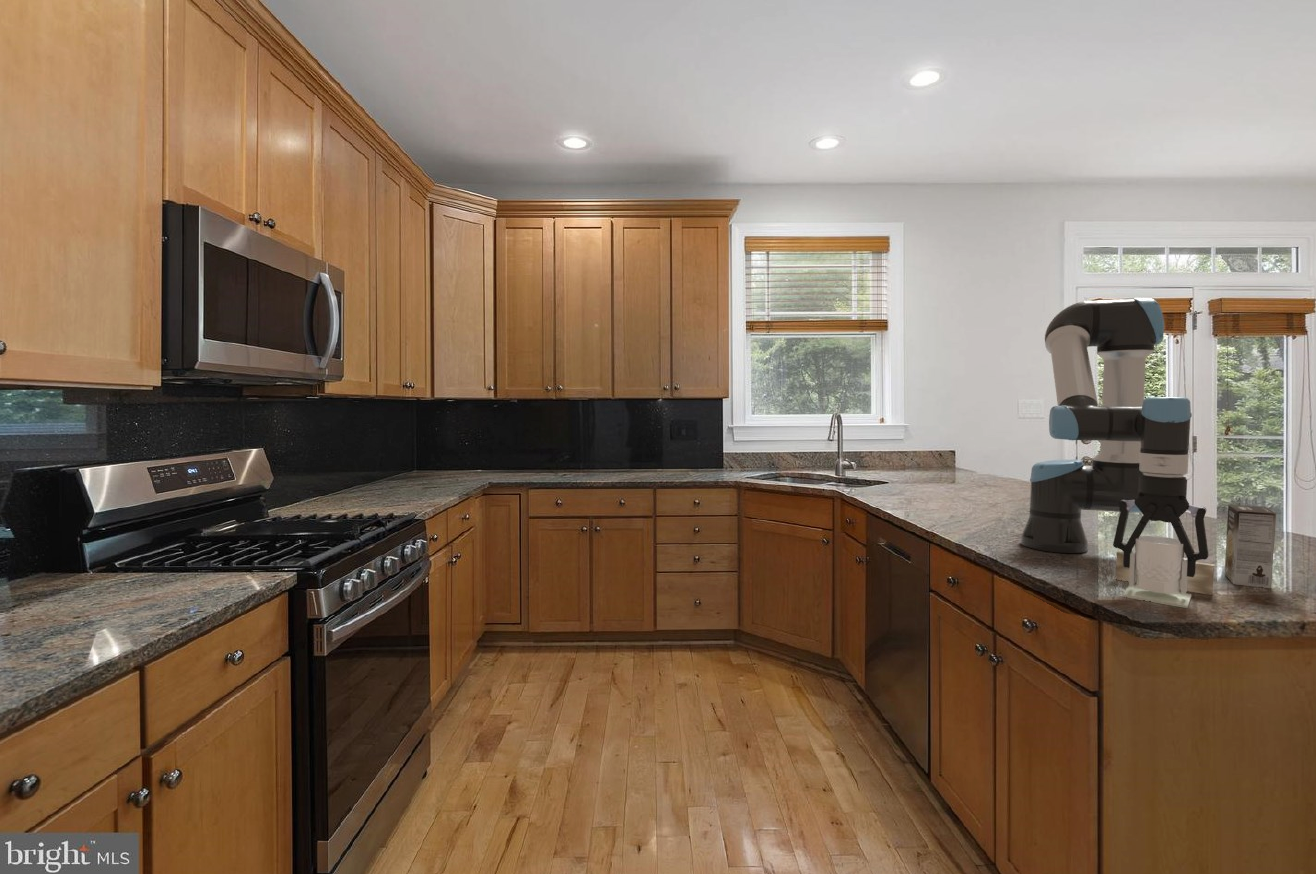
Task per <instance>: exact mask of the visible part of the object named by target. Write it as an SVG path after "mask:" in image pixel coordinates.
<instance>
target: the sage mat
mask: <svg viewBox="0 0 1316 874" xmlns="http://www.w3.org/2000/svg"><path fill="white" fill-rule="evenodd" d="M1192 594H1193V593H1187V592H1186V594H1182V593H1181V591H1179V592H1178V593H1175V594H1164V593H1156V592H1151V591H1147V590H1143V589H1141V588H1139V587H1138V586H1137V585H1136V584H1134V586H1133V585H1129V584H1128V586H1127V587H1126V589H1125V591H1124V592H1123V594H1122V596H1123V597H1122V598H1126V597H1127V598H1126V599H1133V600H1139V601H1143V600H1145V601H1144V602H1149V601H1151V602H1150V603H1155V604H1162V605H1167V606H1171V607H1172V606H1173V607H1176V608H1177V607H1178V608H1184V609H1188V608H1189V605H1190V601H1191V598H1192V596H1193V595H1192Z"/></svg>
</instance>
